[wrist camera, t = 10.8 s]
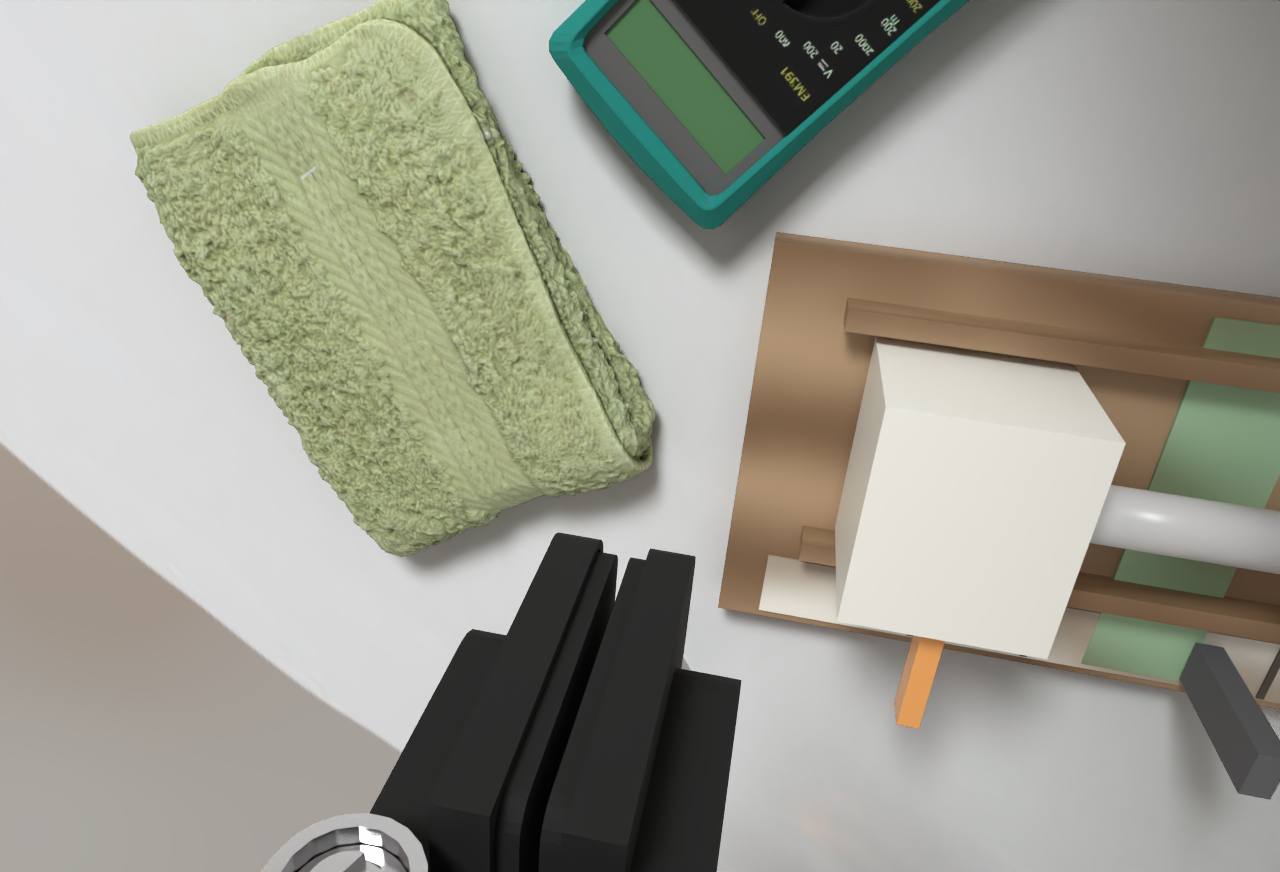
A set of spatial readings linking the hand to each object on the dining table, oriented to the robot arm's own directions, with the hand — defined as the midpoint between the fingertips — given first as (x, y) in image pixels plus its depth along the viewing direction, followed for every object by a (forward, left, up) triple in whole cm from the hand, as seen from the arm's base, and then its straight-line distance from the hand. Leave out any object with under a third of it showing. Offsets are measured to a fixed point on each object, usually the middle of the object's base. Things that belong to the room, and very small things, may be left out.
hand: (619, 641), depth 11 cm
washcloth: (+4, -11, -22) cm, 25 cm away
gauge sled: (+8, +11, -20) cm, 24 cm away
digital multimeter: (-8, +1, -22) cm, 23 cm away
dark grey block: (+12, +18, -20) cm, 29 cm away
